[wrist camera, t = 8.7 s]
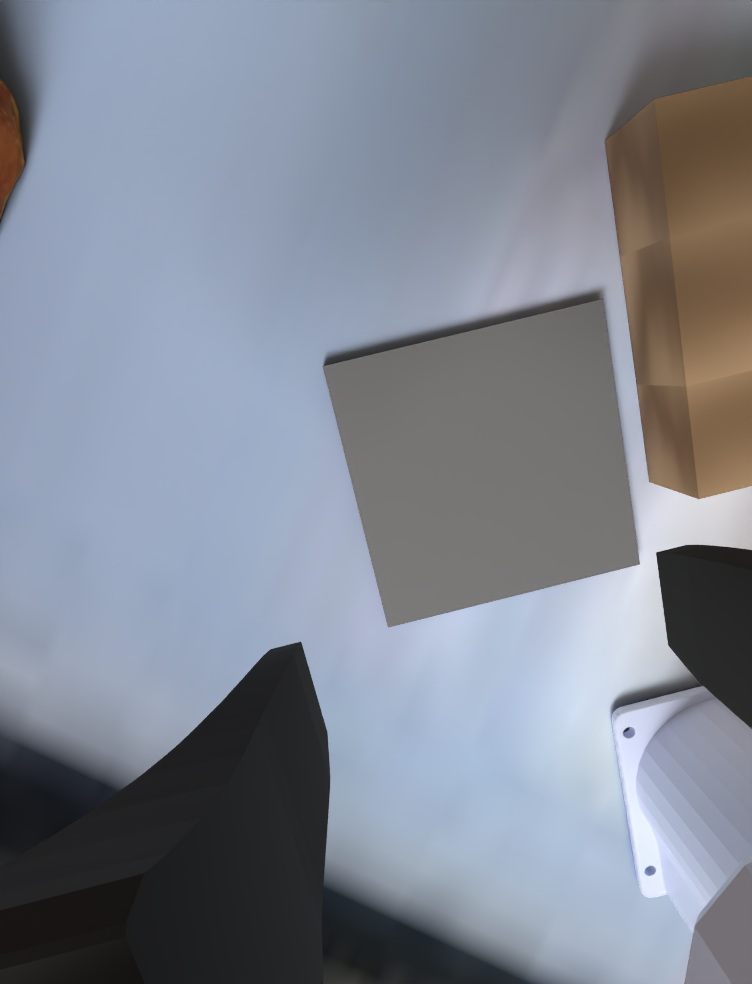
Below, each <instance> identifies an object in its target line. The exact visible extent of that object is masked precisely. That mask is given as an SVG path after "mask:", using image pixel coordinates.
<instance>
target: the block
mask: <svg viewBox="0 0 752 984" xmlns="http://www.w3.org/2000/svg"><path fill="white" fill-rule="evenodd" d="M605 145H606V153H607V160H608V168H609V176H610V183H611V191H612V199H613V206H614V214H615V222H616V229H617V237H618V245H619V252H620V260H621V268H622V275H623V283H624V291H625V298H626V306H627V314H628V321H629V329H630V337H631V344H632V352H633V360H634V367H635V375H636V383H637V390H638V398H639V406H640V413H641V421H642V428H643V436H644V444H645V451H646V459H647V467H648V474H649V482H651V483H654V484H657V485H660V486H663V487H666V488H668V489H671V490H674V491H677V492H680V493H683V494H686V495H689V496H692V497H694V498H697V499H701V498H705V497H709V496H713V495H717V494H721V493H725V492H729V491H733V490H737V489H741V488H745V487H749V486H752V76H750V77H745V78H741V79H737V80H733V81H728V82H724V83H720V84H715V85H711V86H707V87H703V88H698V89H694V90H690V91H685V92H681V93H677V94H673V95H668V96H664V97H660V98H655V99H653V100H652V101H651V102H650V103H649V104H648V105H646V106H645V107H644V108H643V109H642V110H641V111H639V112H638V113H637V114H636V115H635V116H634V117H632V118H631V119H630V120H629V121H628V122H627V123H625V124H624V125H623V126H622V127H621V128H620V129H619V130H617V131H616V132H615V133H614V134H613V135H612V136H610V137H609V138H608V139H607V140H606V141H605Z"/></svg>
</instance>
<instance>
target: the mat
mask: <svg viewBox="0 0 752 984" xmlns="http://www.w3.org/2000/svg"><path fill="white" fill-rule="evenodd" d="M323 369H324V373H325V377H326V381H327V385H328V389H329V393H330V397H331V401H332V405H333V409H334V413H335V417H336V421H337V425H338V429H339V433H340V437H341V441H342V445H343V449H344V453H345V457H346V461H347V465H348V469H349V473H350V477H351V481H352V485H353V489H354V493H355V497H356V501H357V505H358V509H359V513H360V517H361V521H362V525H363V529H364V533H365V537H366V541H367V545H368V549H369V553H370V557H371V561H372V565H373V569H374V573H375V577H376V581H377V585H378V589H379V593H380V597H381V601H382V605H383V609H384V613H385V617H386V621H387V625H388V627H392V626H396V625H400V624H404V623H408V622H412V621H416V620H420V619H424V618H428V617H432V616H436V615H440V614H444V613H448V612H452V611H456V610H460V609H464V608H468V607H472V606H476V605H480V604H484V603H488V602H492V601H496V600H500V599H504V598H508V597H512V596H515V595H519V594H523V593H527V592H531V591H535V590H539V589H543V588H547V587H551V586H555V585H559V584H563V583H567V582H571V581H575V580H579V579H583V578H587V577H591V576H595V575H599V574H603V573H607V572H611V571H615V570H619V569H623V568H627V567H631V566H635V565H639V564H640V562H639V554H638V547H637V540H636V533H635V526H634V518H633V511H632V504H631V497H630V490H629V482H628V475H627V468H626V461H625V454H624V446H623V439H622V432H621V425H620V418H619V410H618V403H617V396H616V389H615V382H614V374H613V367H612V360H611V353H610V346H609V338H608V331H607V324H606V317H605V310H604V303H603V299H601V300H596V301H592V302H588V303H584V304H580V305H576V306H571V307H567V308H563V309H559V310H555V311H551V312H547V313H542V314H538V315H534V316H530V317H526V318H522V319H517V320H513V321H509V322H505V323H501V324H497V325H493V326H488V327H484V328H480V329H476V330H472V331H468V332H463V333H459V334H455V335H451V336H447V337H443V338H438V339H434V340H430V341H426V342H422V343H418V344H414V345H409V346H405V347H401V348H397V349H393V350H389V351H384V352H380V353H376V354H372V355H368V356H364V357H360V358H355V359H351V360H347V361H343V362H339V363H335V364H330V365H326V366H323Z"/></svg>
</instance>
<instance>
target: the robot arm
mask: <svg viewBox="0 0 752 984" xmlns="http://www.w3.org/2000/svg"><path fill="white" fill-rule="evenodd" d="M656 555H657V563H658V570H659V578H660V585H661V593H662V601H663V608H664V616H665V623H666V631H667V639H668V646H669V647H670V648H671V649H672V650H673V652H674V653H675V654H676V655H677V656H678V658H679V659H680V660H681V661H682V663H683V664H684V665H685V666H686V667H687V668H688V670H689V671H690V672H691V673H692V674H693V675H694V676H695V677H696V679H697V680H698V681H699V682H700V683H701V684H702V685H703V686H700V687H696V688H692V689H688V690H684V691H681V692H677V693H673V694H669V695H665V696H661V697H657V698H653V699H649V700H645V701H642V702H638V703H634V704H630V705H626V706H622V707H620V708H617V709H616V710H615V711H614V712H613V714H612V726H613V732H614V739H615V745H616V751H617V757H618V763H619V770H620V776H621V782H622V788H623V795H624V801H625V807H626V813H627V819H628V826H629V832H630V838H631V844H632V850H633V857H634V863H635V869H636V875H637V881H638V886H639V888H640V890H641V892H642V893H643V895H645V896H646V897H649V898H652V897H657V896H661V895H665V894H668V896H669V898H670V899H671V901H672V902H673V904H674V905H675V907H676V909H677V910H678V912H679V913H680V915H681V916H682V918H683V920H684V921H685V923H686V924H687V926H688V927H689V929H690V930H691V932H692V934H693V938H692V943H691V949H690V955H689V960H688V966H687V972H686V977H685V983H684V984H752V550H747V549H739V548H730V547H720V546H709V545H685V546H681V547H677V548H673V549H669V550H665V551H661V552H657V553H656ZM627 727H630V729H629V730H628V731H627V732H623V731H624V730H625V729H626V728H627ZM329 793H330V766H329V750H328V736H327V730H326V726H325V723H324V719H323V716H322V713H321V709H320V706H319V702H318V699H317V695H316V692H315V688H314V685H313V681H312V678H311V674H310V671H309V667H308V664H307V661H306V657H305V654H304V650H303V647H302V643H301V642H298V643H294V644H290V645H286V646H282V647H278V648H274V649H271V650H269V651H268V652H267V653H266V654H265V655H264V656H263V657H262V658H261V659H260V660H259V661H258V662H257V663H256V664H255V666H254V667H253V668H252V669H251V670H250V671H249V672H248V673H247V675H246V676H245V677H244V678H243V679H242V680H241V681H240V682H239V683H238V685H237V686H236V687H235V688H234V689H233V690H232V691H231V692H230V693H229V694H228V696H227V697H226V698H225V699H224V700H223V701H222V702H221V703H220V704H219V705H218V706H217V707H216V708H215V709H214V710H213V711H212V712H211V713H210V714H209V715H208V716H207V717H206V718H205V719H204V720H203V721H202V722H201V723H200V724H199V725H198V726H197V727H196V728H195V729H194V730H193V731H192V732H191V733H190V734H189V735H188V736H187V737H186V738H185V739H184V740H183V741H182V742H180V743H179V744H178V745H177V746H176V747H175V748H174V749H173V750H171V751H170V752H169V753H168V754H167V755H166V756H164V757H163V758H162V759H161V760H159V761H158V762H157V763H156V764H155V765H153V766H152V767H151V768H150V769H149V770H147V771H146V772H145V773H144V774H142V775H141V776H140V777H138V778H137V779H136V780H135V781H133V782H132V783H130V784H129V785H127V786H126V787H125V788H123V789H122V790H120V791H119V792H118V793H116V794H115V795H113V796H112V797H111V798H109V799H108V800H106V801H105V802H103V803H102V804H101V805H99V806H98V807H96V808H95V809H94V810H92V811H91V812H89V813H88V814H87V815H85V816H83V817H82V818H80V819H79V820H77V821H76V822H74V823H73V824H71V825H69V826H68V827H66V828H65V829H63V830H61V831H60V832H58V833H57V834H55V835H53V836H52V837H50V838H49V839H47V840H45V841H43V842H42V843H40V844H38V845H37V846H35V847H33V848H31V849H30V850H28V851H26V852H25V853H23V854H21V855H20V856H18V857H16V858H14V859H12V860H11V861H9V862H7V863H5V864H3V865H2V866H0V984H323V959H322V896H323V882H324V867H325V853H326V839H327V824H328V809H329ZM648 866H649V867H648Z"/></svg>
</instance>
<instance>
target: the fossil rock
mask: <svg viewBox="0 0 752 984" xmlns="http://www.w3.org/2000/svg"><path fill="white" fill-rule="evenodd" d="M24 166H25V162H24V156H23V140H22V135H21V129H20V120H19V112H18V108H17V106H16V103H15V101H14V98H13V96H12V93H11V91H10V90H9V88H8V87H7V86H6V85H5V84H4V82H3V81H2V80H1V79H0V220H1V217H2V213H3V210H4V207H5V203H6V201H7V199H8V197H9V195H10V193H11V191H12V189H13V187H14V185H15V182H16V181H17V179H18V177H19V176H20V174H21V172H22V170H23V168H24Z"/></svg>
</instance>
